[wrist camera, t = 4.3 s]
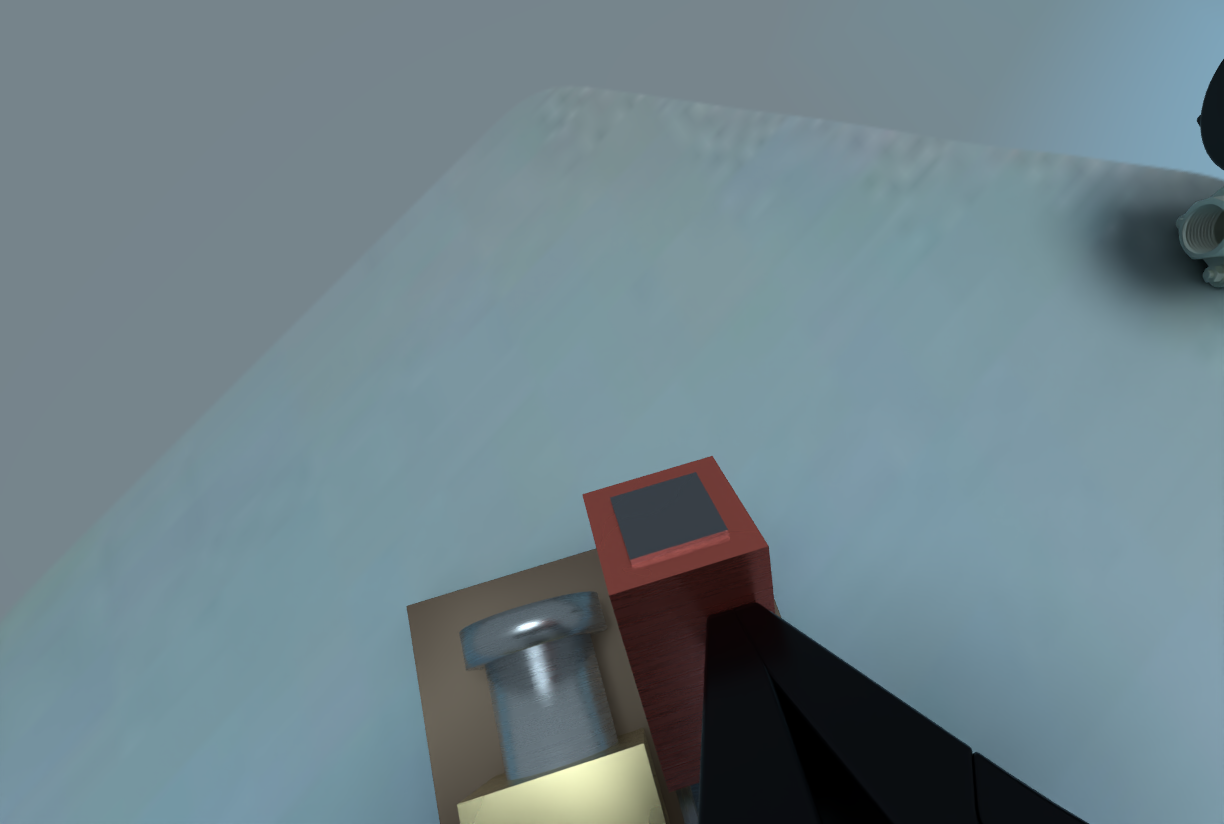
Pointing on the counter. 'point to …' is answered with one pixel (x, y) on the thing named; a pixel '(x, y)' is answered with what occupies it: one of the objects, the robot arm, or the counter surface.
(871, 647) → the counter surface
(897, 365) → the counter surface
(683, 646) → the lever
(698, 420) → the counter surface
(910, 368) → the counter surface
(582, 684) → the valve body
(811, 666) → the robot arm
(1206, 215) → the pneumatic valve
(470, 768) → the mounting board
